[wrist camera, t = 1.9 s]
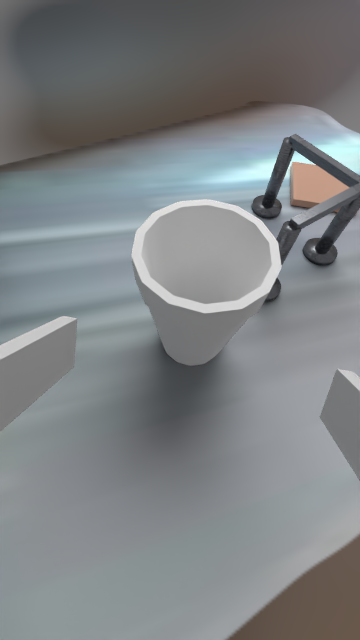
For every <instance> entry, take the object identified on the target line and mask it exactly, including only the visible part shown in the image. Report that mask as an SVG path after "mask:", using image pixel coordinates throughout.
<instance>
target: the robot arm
mask: <svg viewBox="0 0 360 640" xmlns="http://www.w3.org/2000/svg"><path fill="white" fill-rule="evenodd" d="M76 331H77V318H72V317H67V316H62V317H59V318H57V319H55V320H53V321H51V322H49V323H47V324H44V325H42V326H40V327H38V328H36V329H34V330H32V331H29V332H27V333H25V334H23V335H21V336H19V337H17V338H14V339H12V340H10V341H8V342H6V343H4V344H2V345H0V431H2V430H3V429H4V428H5V427H6V426H7V425H8V424H10V423H11V422H12V421H13V420H14V419H15V418H16V417H18V416H19V415H20V414H21V413H22V412H23V411H24V410H26V409H27V408H28V407H29V406H30V405H31V404H32V403H34V402H35V401H36V400H37V399H38V398H39V397H40V396H42V395H43V394H44V393H45V392H46V391H47V390H48V389H50V388H51V387H52V386H53V385H54V384H55V383H56V382H58V381H59V380H60V379H61V378H62V377H63V376H64V375H66V374H67V373H68V372H69V371H70V370H71V369H72V368H74V363H75V347H76ZM320 418H321V420H322V422H323V423H324V425H325V426H326V428H327V430H328V431H329V433H330V434H331V436H332V437H333V439H334V441H335V442H336V444H337V445H338V447H339V449H340V450H341V452H342V453H343V455H344V457H345V458H346V460H347V461H348V463H349V464H350V466H351V468H352V469H353V471H354V472H355V474H356V476H357V477H358V479H359V480H360V378H359V377H358V376H357V375H356V374H355V373H354V372H351V371H346V370H341V369H337V370H336V373H335V375H334V378H333V381H332V384H331V387H330V390H329V392H328V395H327V398H326V401H325V404H324V407H323V410H322V412H321V415H320Z"/></svg>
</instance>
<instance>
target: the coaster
mask: <svg viewBox="0 0 360 640" xmlns="http://www.w3.org/2000/svg"><path fill="white" fill-rule="evenodd" d="M290 185H291V205H294V206H300V207H307V208H312V207H314V206H316V205H318V204H320V203H322V202H324V201H326V200H328V199H329V198H331V197H333V196H335V195H337V194H339V193H341V192H343V191H345V190H347V189H349V187H348V186H346V185H345V184H343V183H342V182H341V181H339V180H338V179H336V178H335V177H333V176H332V175H330V174H329V173H327V172H326V171H325V170H323V169H322V168H320V167H319V166H317V165H311V164H305V163H298V162H292V165H291V167H290ZM339 209H340V208H339ZM339 209H337V210H335V211H333V212H338V211H339ZM358 210H359V209H358ZM356 213H357V212H356ZM356 213H355V214H356Z"/></svg>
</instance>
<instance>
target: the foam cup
mask: <svg viewBox="0 0 360 640" xmlns="http://www.w3.org/2000/svg"><path fill="white" fill-rule="evenodd" d="M131 258H132V263H133V269H134V275H135V280H136V283H137V285H138V287H139V290H140V292H141V295H142V297H143V300H144V302H145V304H146V305H147V306H148V307H149V309H150V312H151V315H152V317H153V320H154V323H155V325H156V328H157V331H158V333H159V336H160V339H161V341H162V344H163V346H164V349H165V351H166V353H167V354H168V355H169V356H170V357H172V358H173V359H174V360H175V361H176V362H178V363H182V364H185V365H189V366H194V365H201V364H205V363H206V362H208V361H209V360H211V359H212V358H214V357H215V356H216V355H217V354H218V353H219V352H220V351H221V350H222V349H223V347H224V346H225V345H226V344H227V343H228V342H229V340H230V339H231V338H232V337H233V336H234V335H235V334H236V332H237V331H238V330H239V329H240V328H241V327H242V326H243V324H244V323H245V322H246V321H247V320H248V319H249V318H250V317H252V316H253V315H255V314H256V313H258V312H259V310H260V308H261V306H262V304H263V303H264V301H265V299H266V297H267V296H268V294H269V292H270V290H271V288H272V286H273V284H274V282H275V280H276V278H277V276H278V274H279V272H280V270H281V268H282V266H281V259H280V252H279V245H278V241H277V240H276V239H275V237H274V236H273V235H272V233H271V232H270V231H269V230H268V228H267V227H266V226H265V224H264V223H263V222H262V220H260V219H258V218H257V217H255V216H253V215H251V214H250V213H248V212H246V211H245V210H243V209H241V208H240V207H238V206H235V205H231V204H227V203H222V202H218V201H213V200H209V199H205V200H191V201H179V202H176V203H174V204H172V205H169V206H167V207H165V208H163V209H160V210H158V211H156V212H153V213H152V215H151V216H150V217H149V218H148V219H147V220H146V221H145V222H144V223H143V224H142V225H141V227H140V228H139V229H138V230H137V231H136V234H135V239H134V244H133V250H132V255H131Z"/></svg>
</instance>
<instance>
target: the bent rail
mask: <svg viewBox="0 0 360 640" xmlns="http://www.w3.org/2000/svg"><path fill="white" fill-rule="evenodd" d="M294 151H297V152H298V153H300V154H301V155H303V156H304V157H306V158H307V159H308V160H310V161H311V162H313V163H314V164H316V165H317V166H319V167H320V168H322V169H323V170H325V171H326V172H327V173H329V174H330V175H332V176H333V177H335V178H336V179H338V180H339V181H341V182H342V183H343V184H345V185H346V186H348V187H349V189H347V190H345V191H343V192H341V193H339V194H337V195H335V196H333V197H331V198H329V199H328V200H326V201H324V202H322V203H320V204H318V205H316V206H314V207H312V208H310V209H308V210H306V211H305V212H303V213H301V214H299V215H297V216H295V217H293V218H291V220H290V221H287V222H285V223H284V224H283V226H282V228H281V230H280V233H279V235H278V237H277V239H276V240H277V241H278V245H279V252H280V259H281V266H282V264H283V262H284V261H285V259H286V257H287V255H288V253H289V251H290V250H291V248H292V246H293V244H294V242H295V240H296V239H297V237H298V235H299V233H300V231H301V229H302V228H304V227H306V226H308V225H310V224H311V223H313V222H315V221H317V220H319V219H320V218H322V217H324V216H326V215H328V214H330V213H331V212H333V211H335V210H337V209H339V208H340V209H339V211H338V212H337V214H336V216H335V217H334V219H333V220H332V222H331V223H330V225H329V226H328V228H327V229H326V231H325V232H324V234H323V236H322V237H321V238H312V239H310V240H308V241H307V242H306V244H305V246H304V248H303V252H304V255H305V256H306V258H307V259H308V260H310V261H311V262H313V263H315V264H318V265H328V264H330V263H332V262H333V261H334V260H335V258H336V257H337V249H336V247H335V246H334V245H333V244H334V242H335V241H336V240H337V238H338V237H339V236H340V234H341V233H342V231H343V230H344V229H345V227H346V226H347V224H348V223H349V222H350V220H351V219H352V218H353V216H354V215H355V213H356V212H357V211H358V209H359V208H360V176H359V175H358V174H356V173H355V172H353V171H352V170H350V169H348V168H347V167H345V166H344V165H342V164H341V163H339V162H338V161H336V160H335V159H333V158H332V157H330V156H329V155H327V154H326V153H324V152H323V151H321V150H319V149H318V148H316V147H315V146H313V145H312V144H310V143H309V142H307V141H306V140H304V139H303V138H301V137H300V136H298V135H297V134H294V135H292V136H290V137H287V138H285V139H284V140H283V143H282V146H281V149H280V152H279V155H278V157H277V160H276V163H275V166H274V169H273V172H272V175H271V178H270V181H269V183H268V186H267V189H266V192H265V195H261V196H258V197H256V198H255V199H254V201H253V204H252V209H253V211H254V212H255V213H256V214H257V215H259V216H261V217H264V218H273V217H276V216H277V215H278V214H279V213H280V211H281V208H282V205H281V203H280V201H279V200H277V199H276V197H277V195H278V192H279V189H280V187H281V184H282V182H283V179H284V177H285V174H286V172H287V169H288V166H289V164H290V161H291V159H292V156H293V154H294ZM280 290H281V284H280V282H279V280H278V278H276V280H275V282H274V284H273V286H272V288H271V290H270V292H269V294H268V296H267V297H266V299H265V301H264V302H268V301H271V300H273V299H275V298H276V297H277V296H278V294H279V292H280Z"/></svg>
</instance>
